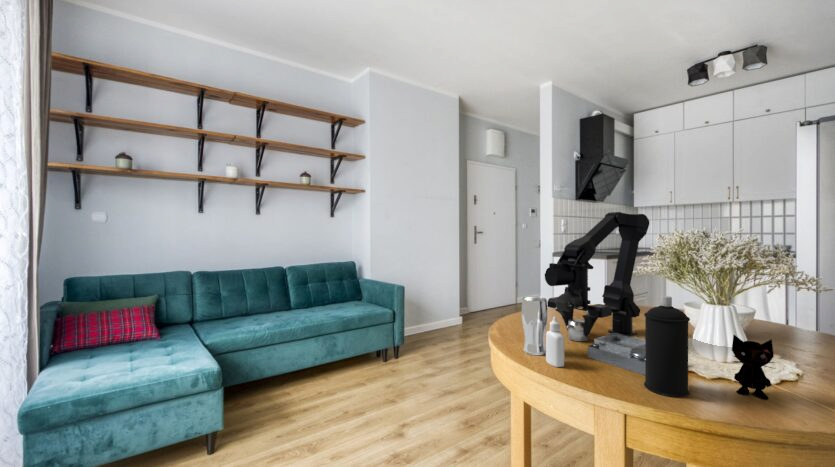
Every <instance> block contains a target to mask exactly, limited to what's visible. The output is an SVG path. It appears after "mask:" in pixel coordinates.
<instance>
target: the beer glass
mask: <svg viewBox="0 0 835 467" xmlns="http://www.w3.org/2000/svg"><path fill="white" fill-rule="evenodd" d="M521 299H522V301H521V323H522V327H523V334H524V344H523V353H525V354H527V355H529V356H530V355H531V356H543V355H546V342H545V339H546V332H547V331H546V330H547V325H548V312H549V311H548V306H547V301H548V300H547V298H545V297H541V296H524V297H522V298H521Z"/></svg>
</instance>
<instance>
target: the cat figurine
mask: <svg viewBox="0 0 835 467" xmlns="http://www.w3.org/2000/svg"><path fill="white" fill-rule="evenodd" d="M731 346H732V347H731V351H732V354H733V357H734V358H736V359H737V361H736V360H732V362H734V363H742V365H741V367H740V369H739V370H738V372H736V373H734V376H733V378H734V380H735V381H736V382H738V383H739V385H740V387H739V388H738V389H737V390H736V391H735V393H736V394H738V395H740V396H750V394H751V392H750V389H751V390H754V391H753V393H752V394H753V396H755V398H758V399H760V400H764V401H765V400H766V401H767V400H769V399H770V398H769V397H768V396H767V394H766V392H764V390H765V389H766V388H769V387H771V386H772V384H771V380H770V379H769V378H768V377H766V376H767V375H766V374H765V372H764V370H763V367H766V368H769V369H773V367H771V366H767V364H773V363H775V361H772V360H773V358H774V357H775V356H774V348H773V347H774V346H773V339H770V340H767V341H765V342H763V343H759V342H758V341H753V340H745V341H743V340H742V339H741V338H740V337H738V336H737V335H735V334H733V338H732V345H731ZM771 361H772V362H771ZM774 369H775V370H776V368H774Z"/></svg>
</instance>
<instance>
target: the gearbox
mask: <svg viewBox="0 0 835 467" xmlns="http://www.w3.org/2000/svg"><path fill="white" fill-rule="evenodd" d="M587 358H589V359H592V360H595V361H598V362H601V363H605V364H607V365H611V366H614V367H618V368H620V369H624V370H627V371H631V372H634V373H637V374H641V375H643V376H645V339H643V338H639V337H634V336H632V335H630V336H626V335H622V334H618V333H609V334H606V335H603V336H598V337H595V338H594V339H593V343H592V344H591V345H587Z"/></svg>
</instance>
